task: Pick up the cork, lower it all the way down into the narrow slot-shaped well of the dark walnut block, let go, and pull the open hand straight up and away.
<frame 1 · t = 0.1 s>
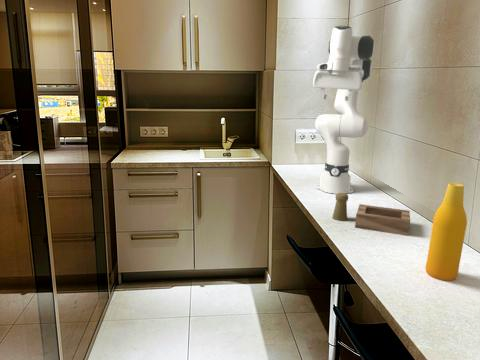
hand: (335, 99, 189), 48 cm above the counter, fingers open, 8 cm apart
well block: (381, 225, 180), on the counter
beer bottle: (440, 274, 138), on the counter
cork: (339, 218, 186), on the counter
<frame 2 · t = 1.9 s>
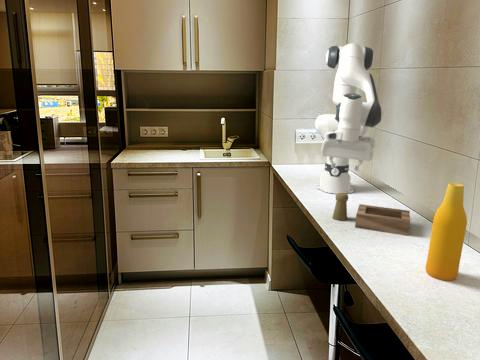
hand: (344, 169, 180), 21 cm above the counter, fingers open, 8 cm apart
nothing on the counter moved.
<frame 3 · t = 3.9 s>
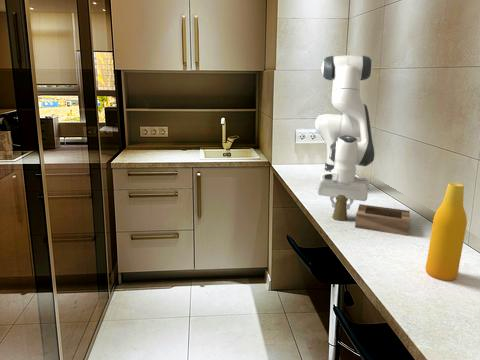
hand: (340, 208, 185), 5 cm above the counter, fingers closed on cork, 4 cm apart
cork: (339, 218, 186), on the counter, touching gripper
everything else where it was.
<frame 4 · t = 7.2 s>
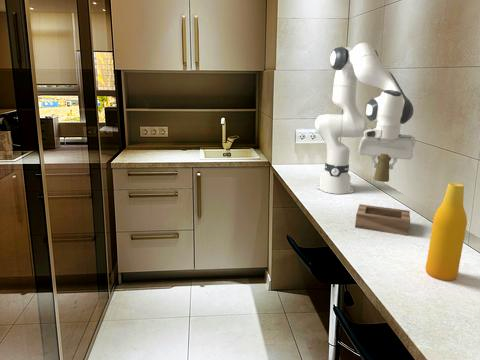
hand: (383, 168, 174), 24 cm above the counter, fingers closed on cork, 4 cm apart
cork: (381, 180, 176), point 19 cm above the counter, touching gripper
everything else where it was.
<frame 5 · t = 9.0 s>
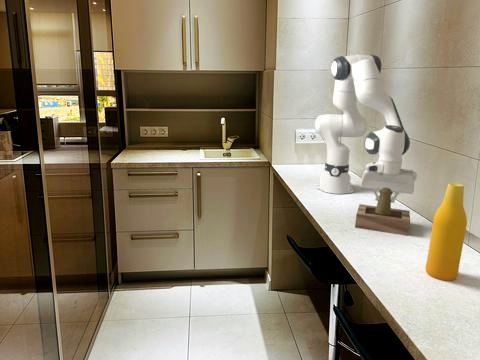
hand: (384, 201, 177), 10 cm above the counter, fingers closed on cork, 4 cm apart
cork: (382, 212, 178), point 5 cm above the counter, touching gripper
everything else where it was.
when the fingers open (5 cm above the counter, at t = 10.4 s): cork stays where it is, resting on well block.
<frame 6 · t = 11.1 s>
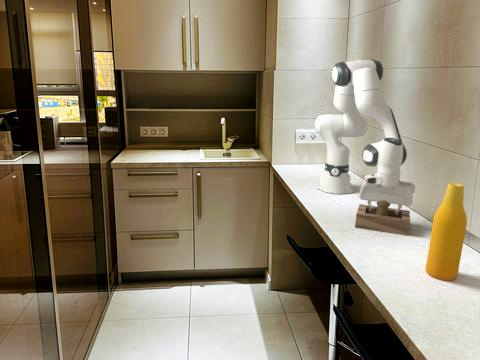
hand: (383, 212, 178), 5 cm above the counter, fingers open, 8 cm apart
cork: (380, 224, 180), resting on well block
everything else where it was.
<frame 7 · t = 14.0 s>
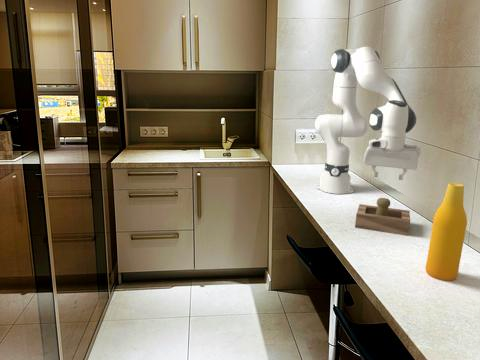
hand: (388, 178, 175), 20 cm above the counter, fingers open, 8 cm apart
nothing on the counter moved.
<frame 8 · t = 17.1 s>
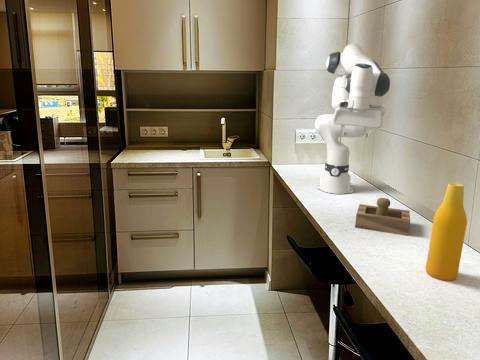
hand: (355, 136, 188), 33 cm above the counter, fingers open, 8 cm apart
nothing on the counter moved.
at the end: cork inside the target area on the well block (0.5 cm from its centre), point 0.1 cm above the well block's base; cork tilted 0°; the gripper is holding nothing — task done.
